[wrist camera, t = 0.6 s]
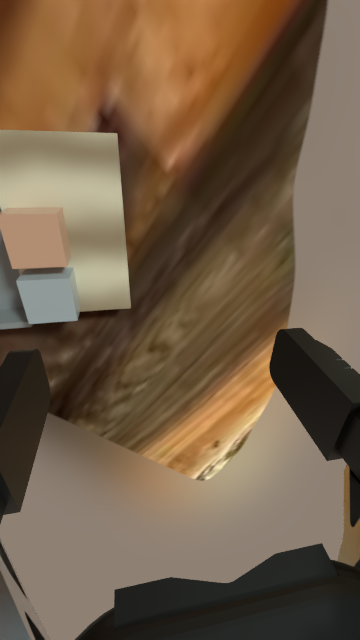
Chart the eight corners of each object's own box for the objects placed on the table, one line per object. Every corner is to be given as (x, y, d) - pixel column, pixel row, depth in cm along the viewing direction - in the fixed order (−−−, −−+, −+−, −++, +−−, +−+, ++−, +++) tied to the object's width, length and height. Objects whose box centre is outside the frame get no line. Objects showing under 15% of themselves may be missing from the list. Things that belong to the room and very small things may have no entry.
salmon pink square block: (7, 207, 22) (-5, 214, 20) (62, 207, 23) (56, 213, 20) (21, 258, 24) (12, 269, 22) (71, 256, 25) (67, 266, 23)
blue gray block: (24, 269, 24) (16, 281, 22) (73, 267, 25) (69, 278, 23) (35, 310, 27) (29, 324, 24) (80, 307, 27) (77, 320, 25)
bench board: (-7, 130, 22) (-23, 129, 19) (117, 134, 23) (117, 133, 21) (39, 300, 29) (31, 315, 27) (129, 294, 31) (130, 308, 28)
